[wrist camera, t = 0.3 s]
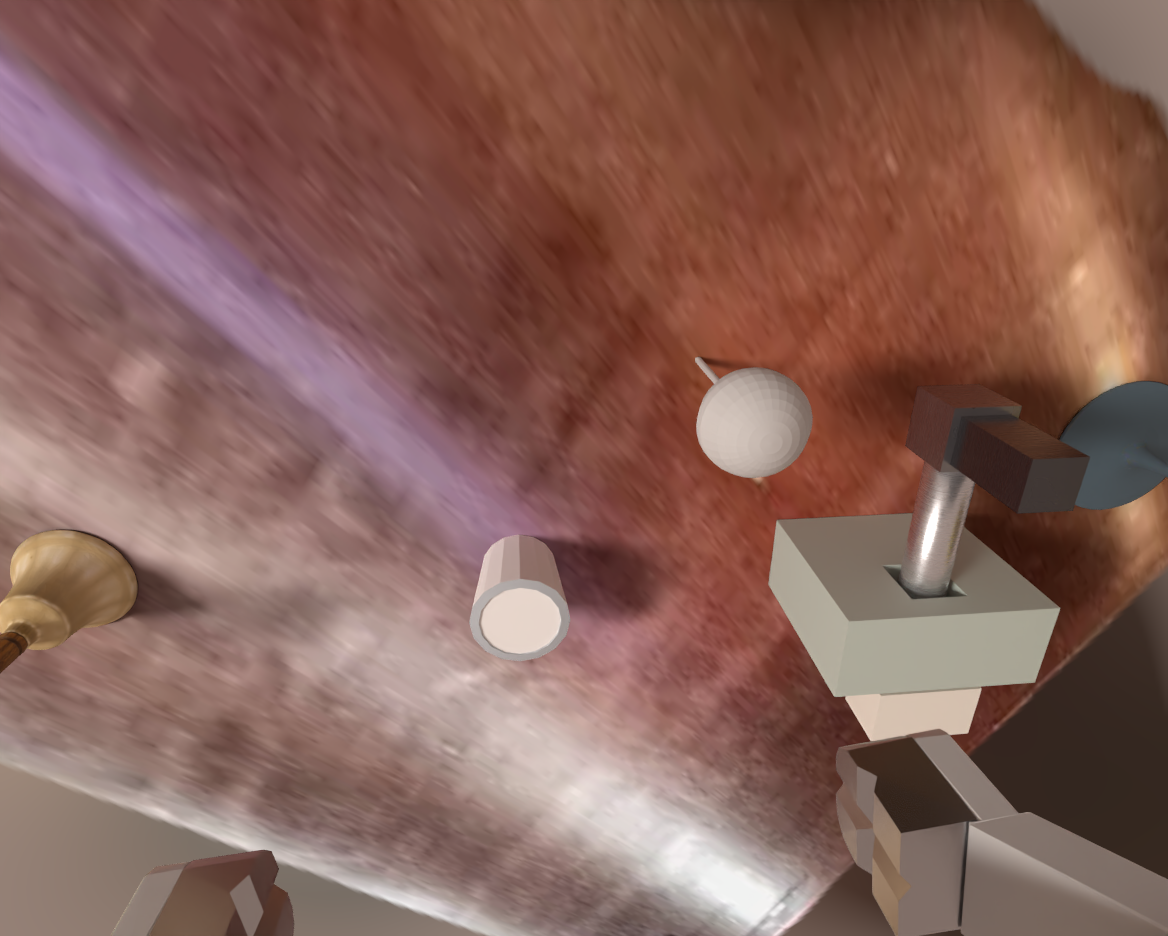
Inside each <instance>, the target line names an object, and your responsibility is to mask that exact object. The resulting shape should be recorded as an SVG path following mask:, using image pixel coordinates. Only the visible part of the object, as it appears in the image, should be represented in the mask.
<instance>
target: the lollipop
mask: <svg viewBox="0 0 1168 936" xmlns="http://www.w3.org/2000/svg"><path fill="white" fill-rule="evenodd" d="M695 362H696V363H697V364H698V365H699V367H700V368H701V369H702V370H703V371H704V372H705V374H706V375H707V376H708V377H709V378H710V380H711V381H712V382H713V383H714V385H713V386H712V387H711V388H710V389H709V391H708V392H707V394H706V395H705V397H704V399H703V401H702V403H701V406H700V410H699V413H698V418H697V436H698V440H699V443H700V445H701V447H702V449H703V451H704V453H705V454H706V455H707V456H708V457H709V459H710V460H711V461H712V462H713V463H715V464H716V465H717V466H718V467H720V468H721V469H723V470H725V471H727V472H729V473H732V474H734V475H738V476H742V477H749V478H756V477H765V476H769V475H772V474H775V473H777V472H780V471H782V470H784V469H785V468H786V467H788V466H789V465H791V464H792V463H793V462H794V461H795V460H796V459H797V458H798V456H799V455H800V454H801V452H802V451H803V449H804V447H805V445H806V443H807V440H808V438H809V436H810V432H811V428H812V411H811V406H810V404H809V401H808V399H807V397H806V396H805V394H804V393H803V391H802V390H801V389H800V387H799V386H798V385H797V384H796V383H795V382H793V381H792V380H791V379H790V378H788V377H786V376H784V375H782V374H781V373H779V372H776V371H773V370H770V369H767V368H744V369H740V370H737V371H733V372H731V373H729V374H727V375H725V376H724V377H722V378H721V379H719V377H718V376H717V375H716V374H715V373H714V372H713V371H712V370H711V369H710V367H709V366H708V365H707V364H706V363H705V362H704V361H703V360H702V358H701V357H697V358H696V359H695Z"/></svg>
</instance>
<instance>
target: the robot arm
mask: <svg viewBox="0 0 1168 936" xmlns="http://www.w3.org/2000/svg"><path fill="white" fill-rule="evenodd" d="M836 770H837V772H838V774H839V775H840V777H841V779H842V780H843V782H844V784H843V785H842V787H841V788H840V790H839V791H838V792H837V794H836V799H837V814H838V818H839V823H840V827H841V831H842V834H843V837H844V839H845V842H846V844H847V847H848V849H849V851H850V853H851V855H852V857H853V859H854V861H855V862H856V864H857V865H858V866H859V867H861V868H863V869H864V870H866V871H867V872H869V873H870V874H872V894H873V895H874V897H875V899H876V901H877V902H878V904H879V906H880V908H881V910H882V912H883V913H884V915H885V917H886V919H887V921H888V922H889V924H890V926H891V928H892V930H893V931H894V933H895V935H896V936H920V935H926V934H932V933H939V932H945V931H951V930H957V929H961V933H962V934H963V935H965V936H1168V879H1165V878H1163V877H1161V876H1159V875H1157V874H1155V873H1153V872H1151V871H1149V870H1147V869H1145V868H1143V867H1141V866H1139V865H1137V864H1135V863H1132V862H1131V861H1129V860H1127V859H1124V858H1122V857H1120V856H1118V855H1116V854H1114V853H1112V852H1110V851H1108V850H1106V849H1104V848H1102V847H1100V846H1098V845H1096V844H1094V843H1092V842H1090V841H1088V840H1086V839H1084V838H1082V837H1079V836H1077V835H1075V834H1073V833H1071V832H1069V831H1067V830H1065V829H1063V828H1061V827H1059V826H1057V825H1055V824H1053V823H1051V822H1049V821H1047V820H1044V819H1043V818H1041V817H1039V816H1037V815H1034V814H1032V813H1030V812H1026V813H1020V814H1019V813H1017V811H1016V810H1015V809H1014V808H1013V807H1012V805H1011V804H1010V803H1009V802H1008V801H1007V800H1006V799H1005V798H1004V796H1003V795H1002V794H1001V793H1000V792H999V791H998V790H997V789H996V787H995V786H994V785H993V784H992V783H991V782H990V781H989V779H988V778H987V777H986V776H985V775H984V774H983V773H982V772H981V770H980V769H979V768H978V767H977V766H976V765H975V764H974V763H973V762H972V760H971V759H970V758H969V757H968V756H967V755H966V753H965V752H964V751H963V750H962V749H961V748H960V747H959V746H958V744H957V743H956V742H955V741H954V740H953V739H952V738H951V737H950V735H949V734H948V733H947V732H945V731H943V730H941V729H934V730H929V731H923V732H918V733H913V734H908V735H905V736H898V737H893V738H887V739H882V740H877V741H871V742H866V743H861V744H855V745H850V746H845V747H839V749H838V752H837V755H836ZM278 870H279V868H278V866H277V863H276V861H275V858H274V856H273V854H272V851H268V850H258V851H252V852H245V853H238V854H232V855H226V856H219V857H212V858H205V859H199V860H193V861H192V862H185V863H178V864H172V865H164V866H158V867H155V868H154V869H153V870H152V871H150V872H149V873H148V874H147V875H146V876H145V877H144V878H143V880H142V882H141V883H140V885H139V887H138V889H137V890H136V892H135V894H134V896H133V897H132V899H131V901H130V903H129V904H128V906H127V908H126V910H125V911H124V913H123V915H122V917H121V919H120V920H119V922H118V923H117V925H116V927H115V929H114V931H113V932H112V934H111V936H293V933H294V918H293V909H292V905H291V902H290V899H289V896H288V893H287V892H285V891H284V890H282V889H281V888H279V887H277V886H276V885H275V884H274V881H275V878H276V876H277V873H278Z"/></svg>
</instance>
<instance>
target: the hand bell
mask: <svg viewBox="0 0 1168 936" xmlns="http://www.w3.org/2000/svg"><path fill="white" fill-rule="evenodd" d="M10 575H11V580H12V584H13V587H12V589H11V590H10V592H9V593H8V595H7V596H6V597H5V599H4V600H3V601H2V602H1V603H0V632H1V633H2V634H1V635H0V673H1V672H2V671H3V670H4V669H5V668H7V667H8V666H9V665H10V664H11V663H12V662H13V661H14V660H15V659H16V658H17V657H18V656H20V655H21V654H22V653H23V652H24V651H25V650H26V649H27V648H28V649H33V650H45V649H50V648H54V647H56V646H59V645H60V644H62V643H63V642H64V641H66V640H67V639H68V638H69V637H70V636H71V635H73V634H74V633H75V632H77V631H78V630H79V629H81V628H88V627H97V626H102V625H106V624H108V623H111V622H113V621H116V620H118V619H119V618H121V617H122V616H124V615H125V614H126V613H127V612H128V611H129V610H130V609H131V607H132V606H133V604H134V602H135V600H136V596H137V590H138V589H137V580H136V576H135V573H134V571H133V569H132V568H131V566H130V564H129V563H128V562H127V561H126V559H125V558H124V557H123V556H122V555H121V554H120V553H119V552H118V551H117V550H116V549H114V548H113V547H112V546H110V545H109V544H107V543H106V542H104V541H102V540H100V539H98V538H96V537H93V536H90V535H87V534H84V533H80V532H77V531H69V530H52V531H46V532H42V533H39V534H36V535H33V536H31V537H29V538H28V539H27V540H25V541H24V542H22V543H21V544H20V546H19V547H18V548H17V549H16V551H15V553H14V555H13V557H12V560H11V566H10Z"/></svg>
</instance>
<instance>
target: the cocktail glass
mask: <svg viewBox="0 0 1168 936" xmlns="http://www.w3.org/2000/svg"><path fill="white" fill-rule="evenodd" d="M1060 441H1062V442H1064V443H1065V444H1067V445H1069V446H1071V447H1073V448H1075V449H1077V450H1078V451H1080V452H1082V453H1084V454H1086V455H1088V456H1090V460H1089V463H1088V466H1087V469H1086V472H1085V475H1084V478H1083V481H1082V484H1081V487H1080V490H1079V493H1078V496H1077V499H1076V502H1075V505H1077V506H1079V507H1082V508H1087V509H1098V510H1102V509H1110V508H1114V507H1118V506H1122V505H1124V504H1127V503H1129V502H1132V501H1134V500H1136V499H1138V498H1139V497H1141V496H1143V495H1144V494H1146V493H1147V492H1149V491H1150V490H1152V489H1153V488H1154V487H1155V486H1157V485H1158V484H1159V483H1160V482H1161V481H1162V480H1163V479H1164V478H1165V477H1167V478H1168V385H1165V384H1162V383H1159V382H1151V381H1137V382H1132V383H1127V384H1124V385H1121V386H1118V387H1115V388H1113V389H1111V390H1109V391H1107V392H1105V393H1103V394H1101V395H1100V396H1098V397H1097V398H1095V399H1094V400H1092V401H1091V402H1090V403H1089V404H1087V405H1086V406H1085V407H1084V408H1083V409H1082V410H1081V411H1080V412H1079V413H1078V414H1077V415H1076V416H1075V417H1074V418H1073V419H1072V421H1071V422H1070V423H1069V425H1068V426H1067V427H1066V429H1065V431H1064V432H1063V434H1062V436H1061V437H1060Z"/></svg>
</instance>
